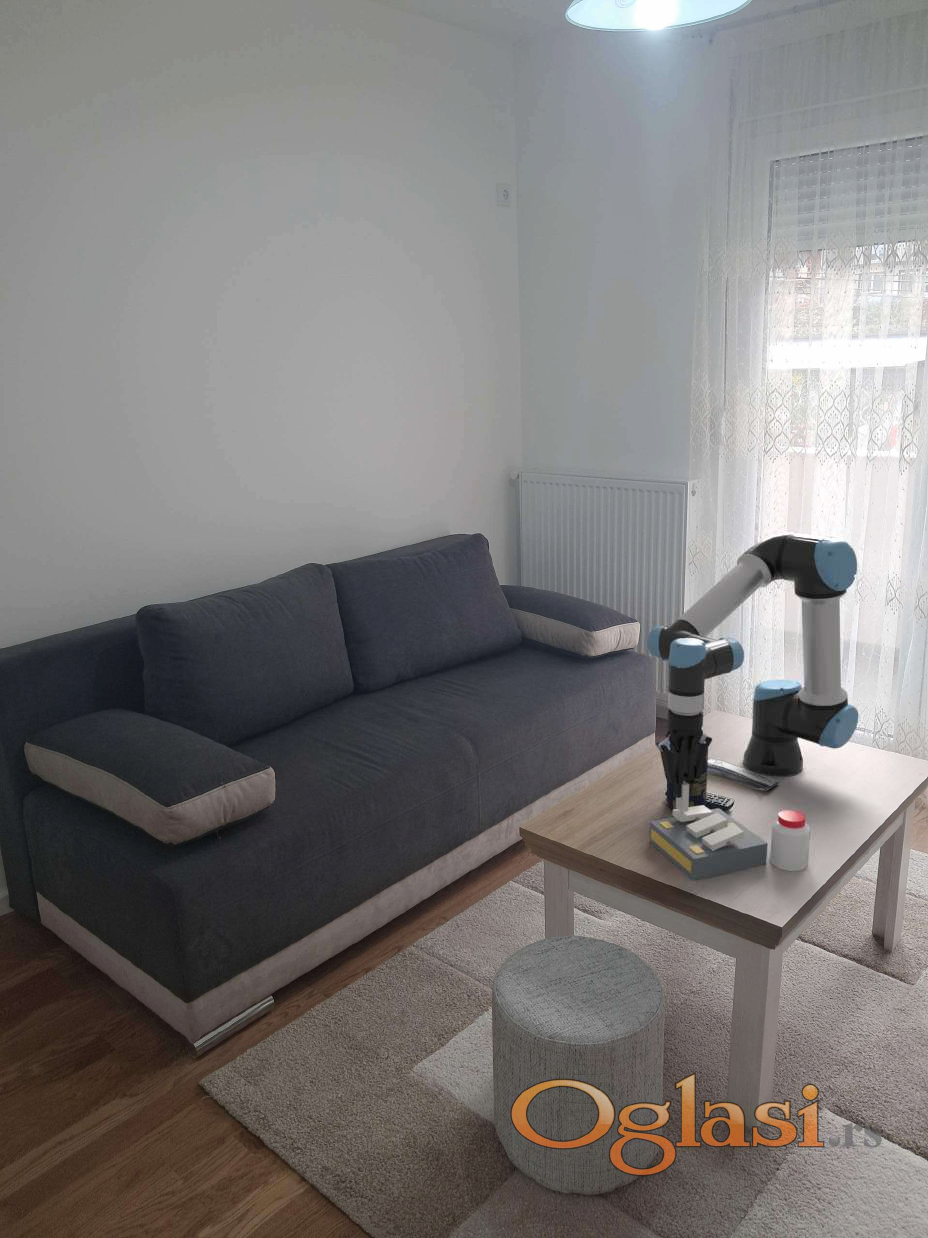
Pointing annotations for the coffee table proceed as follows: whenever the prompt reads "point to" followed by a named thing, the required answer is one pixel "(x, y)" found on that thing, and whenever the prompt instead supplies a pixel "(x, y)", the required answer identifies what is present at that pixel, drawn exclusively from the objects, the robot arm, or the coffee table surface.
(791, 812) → the pill bottle
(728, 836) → the block
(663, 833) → the switch unit
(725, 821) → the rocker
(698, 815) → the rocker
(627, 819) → the coffee table surface
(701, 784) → the canister
